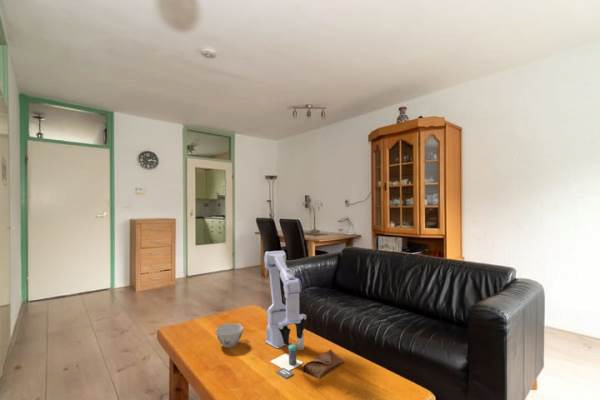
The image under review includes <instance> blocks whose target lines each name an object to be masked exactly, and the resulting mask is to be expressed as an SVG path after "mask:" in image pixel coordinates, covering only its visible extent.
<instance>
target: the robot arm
mask: <svg viewBox="0 0 600 400" xmlns="http://www.w3.org/2000/svg"><path fill="white" fill-rule="evenodd" d="M263 260H264V267H265V269H266V270H268V274H269V275H268V276H269V283H270V293H271V295H270V296H271V305H270V306H269V307H268V308H267V310H266V313H267V315H266V319H267V323H268V324H267V326H266V340H265V341H264V343H265V344H268V345H270V346H272V347H274V348H276V349H280V348H282V347H284V346H289V345H290V343H291V341H290V333H291V328H289V326H290V325H293V324H295V328H296V338H297V337H298V338H300V339H301V338H302V333H303V332H304V330H305V328H306V325H307V324H308V323H307V314H304V313H301V314H300V293H301V292H302V281H301V280H300V278H298V277H296V276H295V275H294V273H293V271H292V270H291V268H289V267H288V266H287V263H286V260H287V253H286V252H285V251H284V250H273V251H265V253H264V257H263ZM280 280H281V281H282V283H283V292H284V298H285V304H284V303H283V300H282V290H281V281H280Z"/></svg>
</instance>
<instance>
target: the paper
mask: <svg viewBox="0 0 600 400" xmlns="http://www.w3.org/2000/svg"><path fill="white" fill-rule="evenodd" d="M296 360H297V364H296V365H289V353H284V354H282V355H280V356H277V357H276V358H273V359H272V360H270V361H269V362H270V363H271V364H273V365H274V366H276V367H278V368H280V369H282V368H285V369H287V370H288V371H290V372H292V370H294V369H295V368H297V367H299V366H302V365H303V364H304V362H303V361H301V360H299V359H298V358H296Z"/></svg>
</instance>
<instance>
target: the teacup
mask: <svg viewBox="0 0 600 400" xmlns="http://www.w3.org/2000/svg"><path fill="white" fill-rule="evenodd" d="M215 331H216V333H215V334H216V337H217V338H216V339H217V340H218V342H219V344H221V345H222V346H223V347H224V348H227V347H228V349H229V348H230V347H231V348H234V347H235V346H236V345H237V344H238V343H239V341H240V340H241V339H242V335H243V332H244V327H243V325H242V324H240V323H230V322H228V323H224V324H222V325H221V324H220V325H219V326H218V327H216V329H215ZM233 346H234V347H233Z"/></svg>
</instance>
